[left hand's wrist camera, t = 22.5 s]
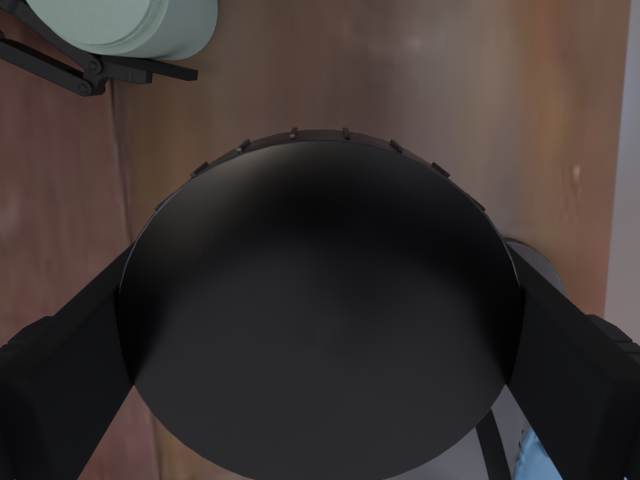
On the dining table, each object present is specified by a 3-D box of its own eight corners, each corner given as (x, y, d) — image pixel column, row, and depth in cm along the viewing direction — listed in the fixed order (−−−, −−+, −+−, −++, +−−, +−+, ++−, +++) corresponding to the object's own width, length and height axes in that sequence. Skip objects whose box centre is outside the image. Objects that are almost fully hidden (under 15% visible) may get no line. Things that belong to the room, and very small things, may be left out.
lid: (67, 294, 12) (28, 329, 10) (339, 32, 9) (344, 24, 8) (306, 488, 14) (304, 540, 13) (566, 319, 12) (603, 357, 10)
